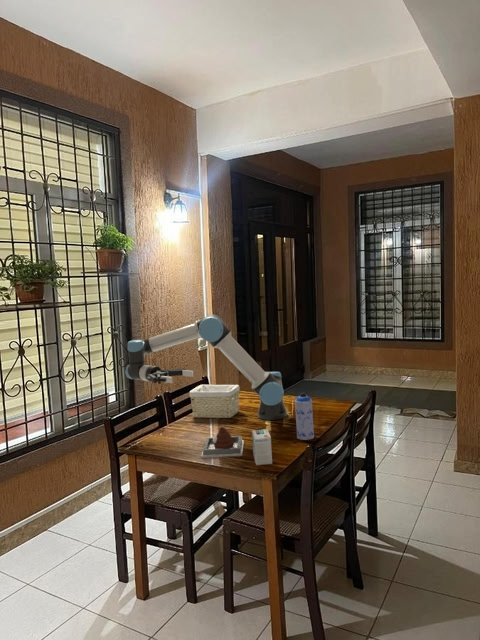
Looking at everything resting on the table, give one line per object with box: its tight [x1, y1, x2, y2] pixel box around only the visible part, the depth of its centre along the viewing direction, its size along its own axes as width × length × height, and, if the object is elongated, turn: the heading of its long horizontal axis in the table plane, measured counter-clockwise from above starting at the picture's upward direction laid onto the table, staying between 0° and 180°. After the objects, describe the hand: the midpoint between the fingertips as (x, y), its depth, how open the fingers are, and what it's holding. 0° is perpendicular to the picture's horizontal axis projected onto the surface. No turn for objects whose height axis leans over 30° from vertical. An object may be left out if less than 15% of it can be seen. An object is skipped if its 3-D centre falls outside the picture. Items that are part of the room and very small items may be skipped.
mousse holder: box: [200, 435, 245, 459], centre depth 209 cm, size 17×16×3 cm
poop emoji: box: [212, 426, 234, 449], centre depth 208 cm, size 10×8×9 cm
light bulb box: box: [251, 428, 273, 466], centre depth 194 cm, size 11×7×11 cm, turn 5°
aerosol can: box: [294, 392, 315, 441], centre depth 217 cm, size 8×8×20 cm
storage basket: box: [189, 384, 241, 419], centre depth 262 cm, size 24×16×15 cm
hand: (182, 376), depth 220 cm, fingers open, 13 cm apart
